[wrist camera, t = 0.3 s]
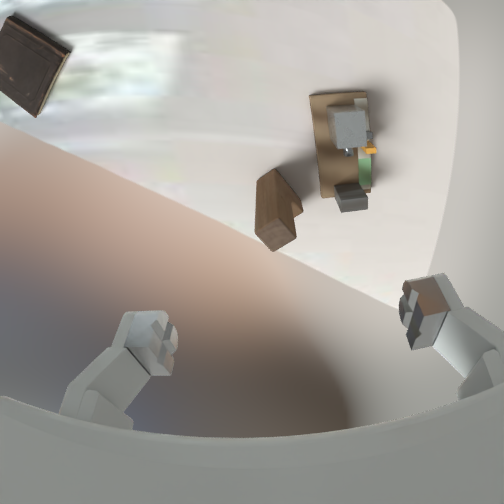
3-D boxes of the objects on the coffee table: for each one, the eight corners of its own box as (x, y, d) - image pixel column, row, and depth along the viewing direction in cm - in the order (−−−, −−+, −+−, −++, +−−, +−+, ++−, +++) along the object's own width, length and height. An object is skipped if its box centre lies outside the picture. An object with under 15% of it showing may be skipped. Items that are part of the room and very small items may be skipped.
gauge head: (326, 106, 45) (334, 113, 40) (367, 103, 44) (379, 110, 39) (331, 150, 50) (338, 162, 45) (370, 147, 49) (381, 158, 44)
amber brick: (359, 141, 48) (366, 148, 45) (368, 140, 48) (376, 147, 45) (359, 146, 49) (366, 154, 46) (369, 145, 49) (376, 153, 45)
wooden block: (301, 200, 58) (314, 258, 44) (283, 212, 60) (289, 271, 46) (274, 167, 54) (279, 216, 40) (255, 180, 56) (253, 233, 42)
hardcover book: (41, 115, 46) (35, 118, 45) (-12, 74, 37) (-18, 76, 35) (72, 51, 39) (66, 52, 37) (14, 15, 30) (7, 16, 28)
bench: (308, 95, 45) (316, 102, 40) (363, 91, 44) (378, 98, 38) (320, 194, 57) (327, 214, 52) (368, 189, 56) (380, 207, 50)
